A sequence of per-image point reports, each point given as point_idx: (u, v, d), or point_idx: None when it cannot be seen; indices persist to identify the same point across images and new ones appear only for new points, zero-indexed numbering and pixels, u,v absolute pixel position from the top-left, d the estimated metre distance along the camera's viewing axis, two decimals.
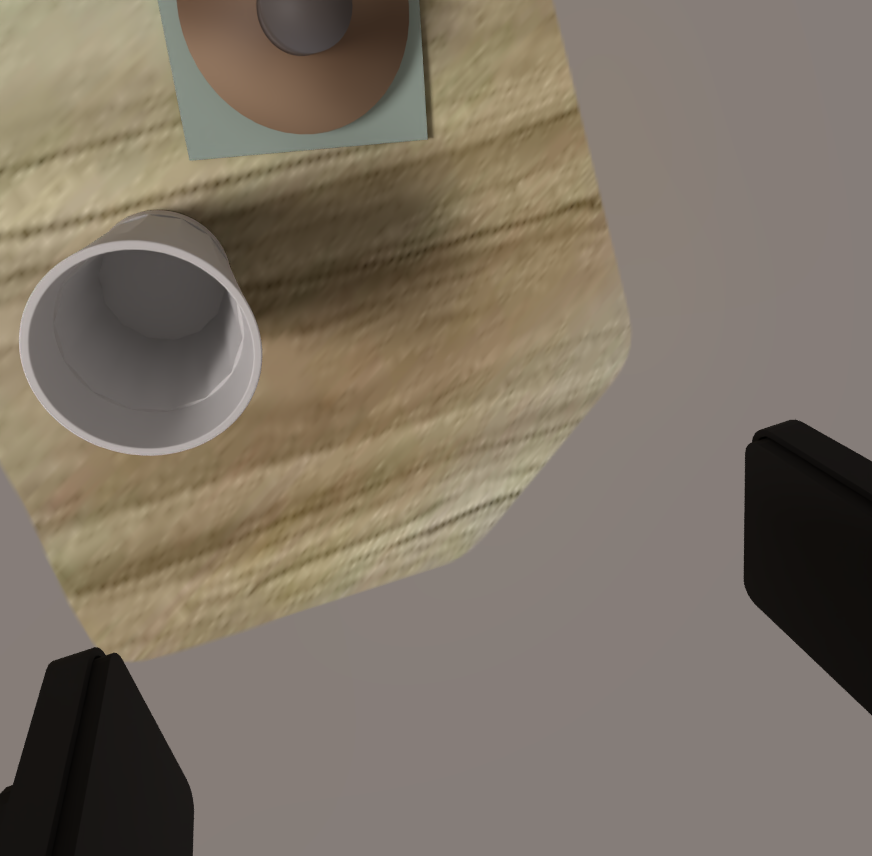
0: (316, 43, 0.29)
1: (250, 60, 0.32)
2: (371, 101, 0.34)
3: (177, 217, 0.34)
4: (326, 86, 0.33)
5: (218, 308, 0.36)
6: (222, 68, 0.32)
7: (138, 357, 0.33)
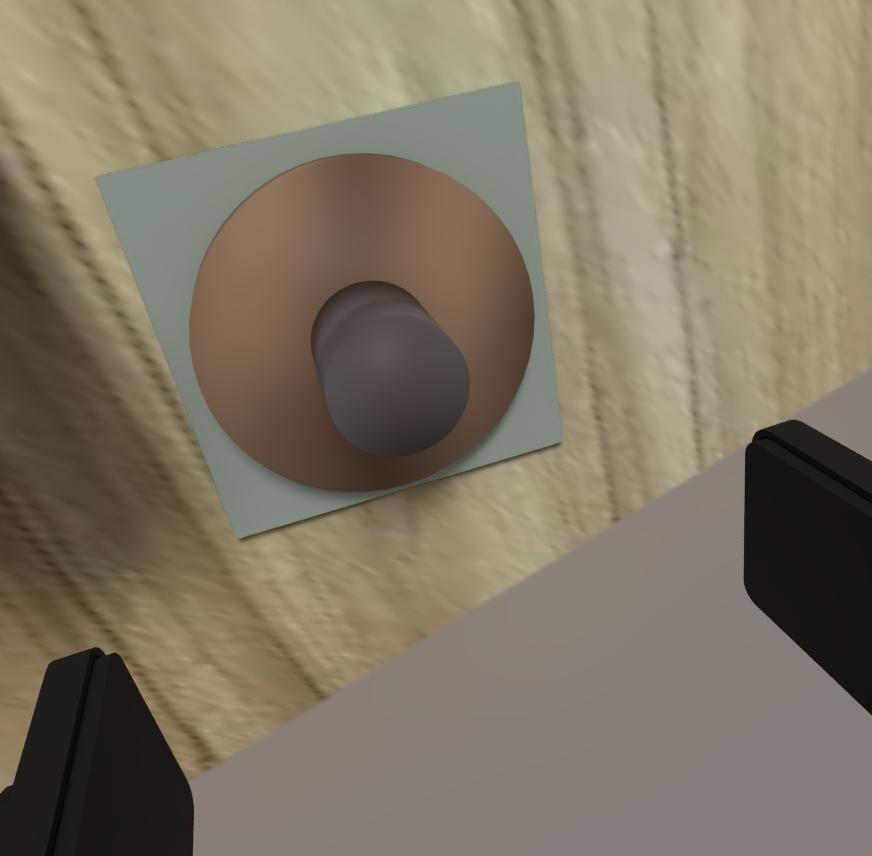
0: (344, 413, 0.17)
1: (287, 279, 0.20)
2: (271, 463, 0.22)
3: None
4: (277, 397, 0.21)
5: None
6: (266, 235, 0.19)
7: None
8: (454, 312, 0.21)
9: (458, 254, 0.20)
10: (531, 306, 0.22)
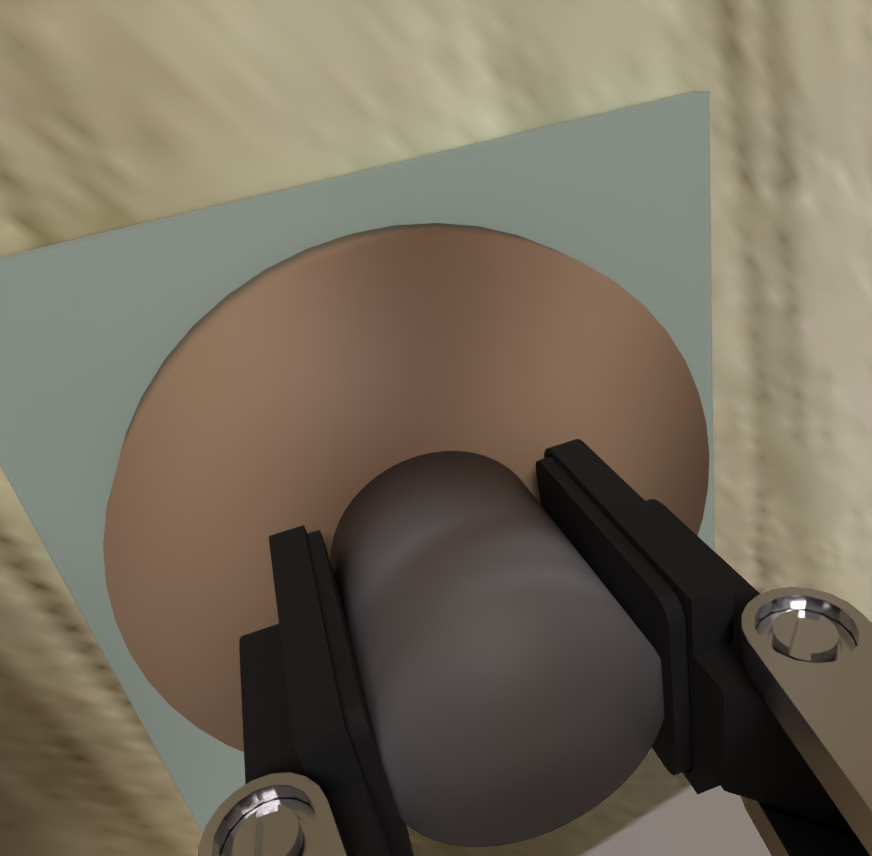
0: (415, 793, 0.08)
1: (288, 461, 0.10)
2: None
3: None
4: None
5: None
6: (245, 388, 0.10)
7: None
8: None
9: (593, 397, 0.11)
10: (705, 471, 0.13)
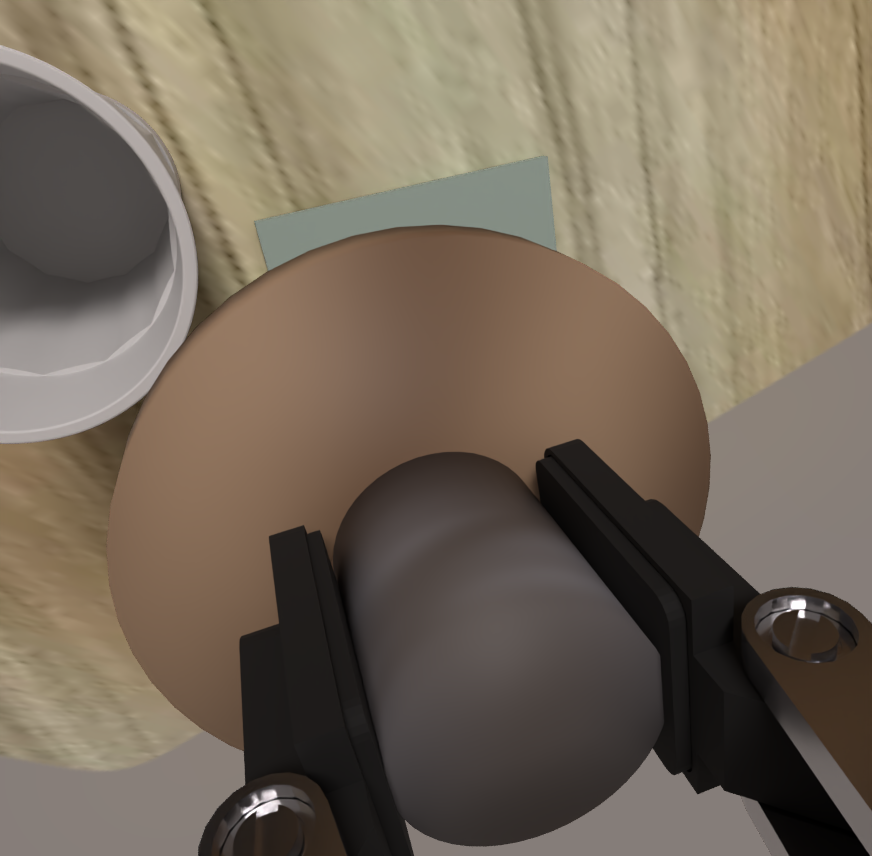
0: (419, 792, 0.08)
1: (290, 461, 0.11)
2: None
3: None
4: None
5: (55, 274, 0.24)
6: (249, 389, 0.10)
7: None
8: None
9: (594, 398, 0.11)
10: (706, 471, 0.13)
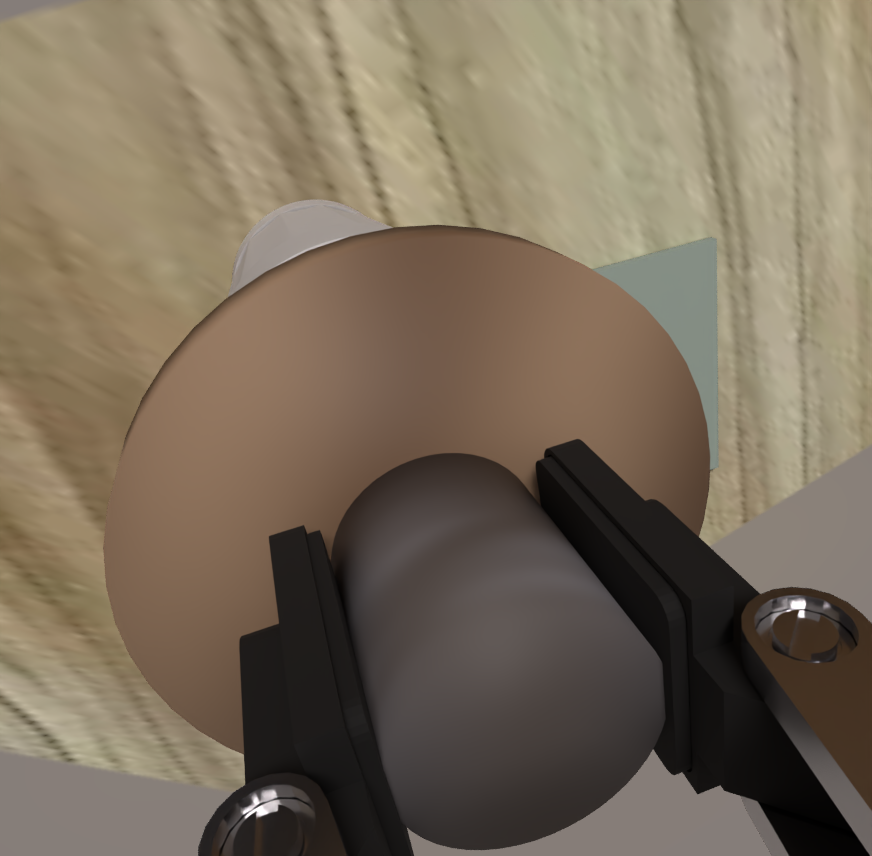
0: (417, 795, 0.08)
1: (288, 463, 0.10)
2: None
3: None
4: None
5: None
6: (246, 391, 0.10)
7: None
8: None
9: (593, 399, 0.11)
10: (706, 473, 0.13)
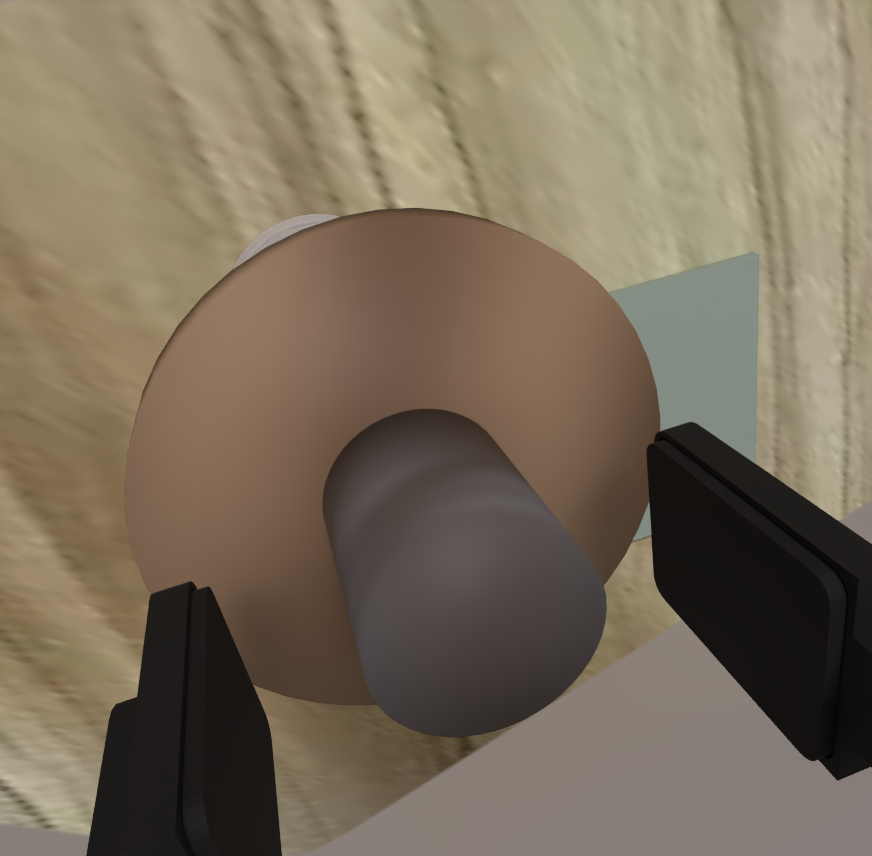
0: (392, 683, 0.10)
1: (284, 414, 0.12)
2: (262, 679, 0.14)
3: None
4: (269, 586, 0.13)
5: None
6: (248, 349, 0.11)
7: None
8: (543, 447, 0.14)
9: (553, 362, 0.13)
10: (656, 431, 0.14)
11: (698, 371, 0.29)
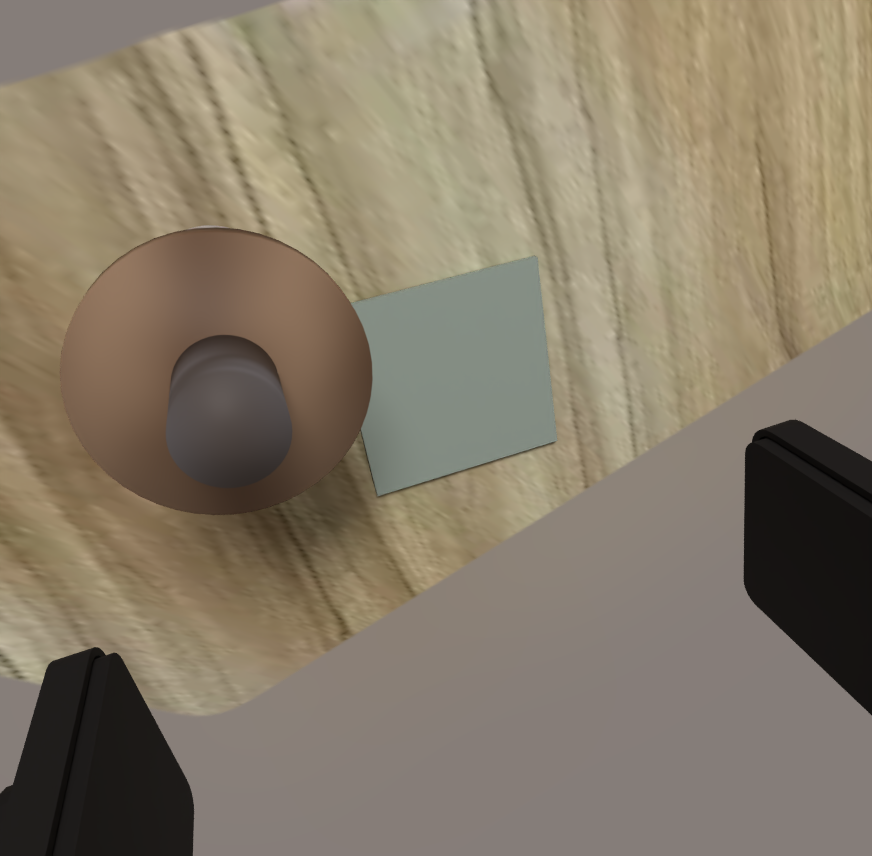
0: (182, 453, 0.21)
1: (146, 335, 0.23)
2: (142, 491, 0.25)
3: None
4: (143, 434, 0.24)
5: None
6: (123, 299, 0.22)
7: None
8: (299, 359, 0.25)
9: (298, 311, 0.24)
10: (368, 353, 0.25)
11: (500, 341, 0.41)
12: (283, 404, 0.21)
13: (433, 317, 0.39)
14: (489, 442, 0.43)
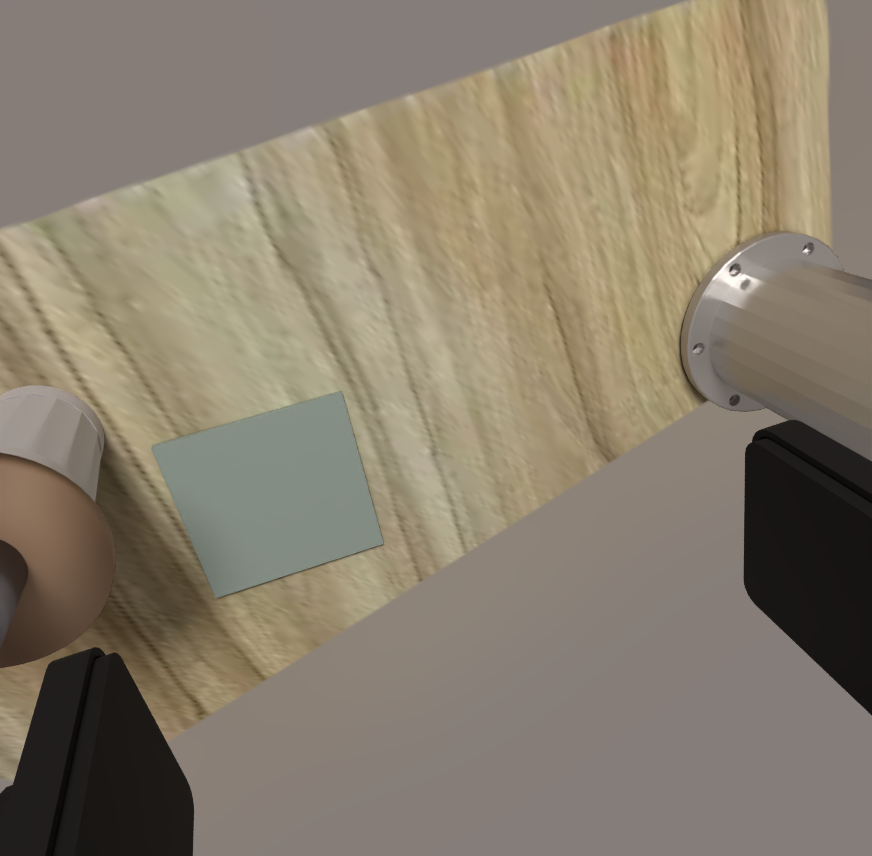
0: None
1: None
2: None
3: (101, 451, 0.41)
4: None
5: None
6: None
7: None
8: (42, 548, 0.30)
9: (34, 513, 0.29)
10: (104, 539, 0.30)
11: (316, 464, 0.46)
12: None
13: (249, 448, 0.44)
14: (317, 548, 0.48)
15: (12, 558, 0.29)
